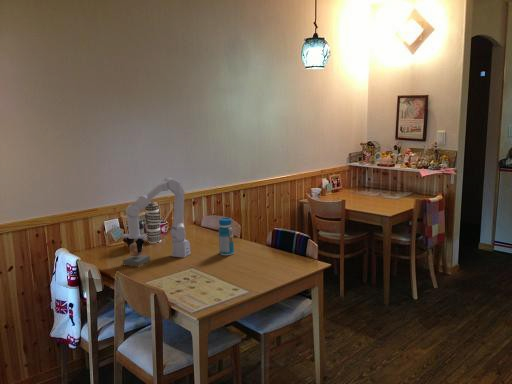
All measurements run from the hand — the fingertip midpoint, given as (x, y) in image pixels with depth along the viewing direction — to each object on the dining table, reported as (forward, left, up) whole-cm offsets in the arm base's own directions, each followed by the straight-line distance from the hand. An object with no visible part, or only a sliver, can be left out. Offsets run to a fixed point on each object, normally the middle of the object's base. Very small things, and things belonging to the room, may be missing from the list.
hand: (135, 251), depth 250 cm
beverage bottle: (-40, -29, -7) cm, 50 cm away
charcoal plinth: (0, 0, -6) cm, 6 cm away
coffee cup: (+15, -21, -7) cm, 27 cm away
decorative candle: (+14, -37, -7) cm, 40 cm away
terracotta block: (0, 0, -2) cm, 2 cm away
